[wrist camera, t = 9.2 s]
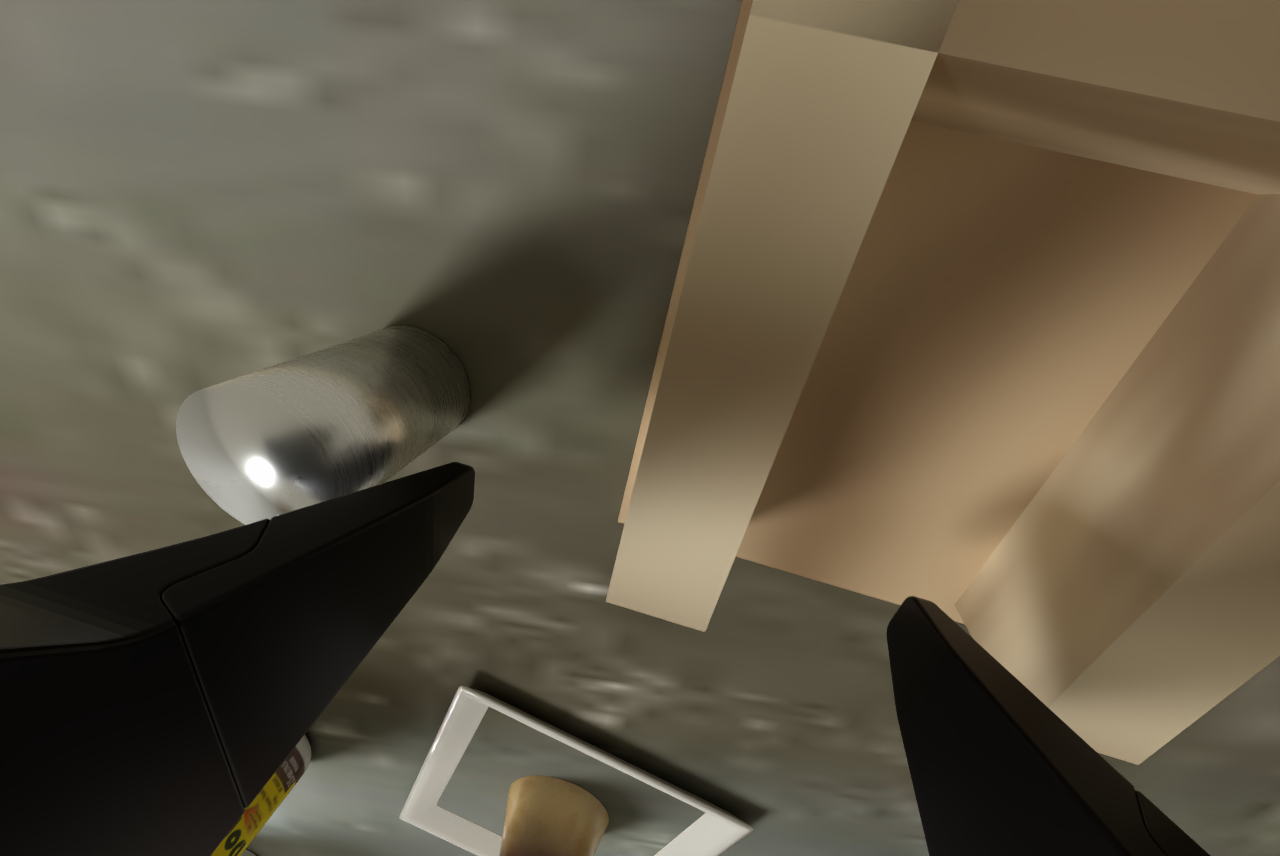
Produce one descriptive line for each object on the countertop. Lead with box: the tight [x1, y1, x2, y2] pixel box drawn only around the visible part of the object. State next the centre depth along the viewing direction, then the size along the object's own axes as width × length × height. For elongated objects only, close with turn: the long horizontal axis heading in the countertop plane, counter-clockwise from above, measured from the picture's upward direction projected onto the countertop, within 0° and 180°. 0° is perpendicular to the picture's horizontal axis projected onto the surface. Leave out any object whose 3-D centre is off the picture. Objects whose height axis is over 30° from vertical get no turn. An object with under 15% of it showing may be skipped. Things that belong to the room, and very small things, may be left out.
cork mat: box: [618, 0, 1257, 624], centre depth 9 cm, size 11×12×1 cm
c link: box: [606, 0, 1280, 765], centre depth 7 cm, size 11×10×3 cm
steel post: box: [176, 326, 470, 525], centre depth 10 cm, size 3×3×4 cm
